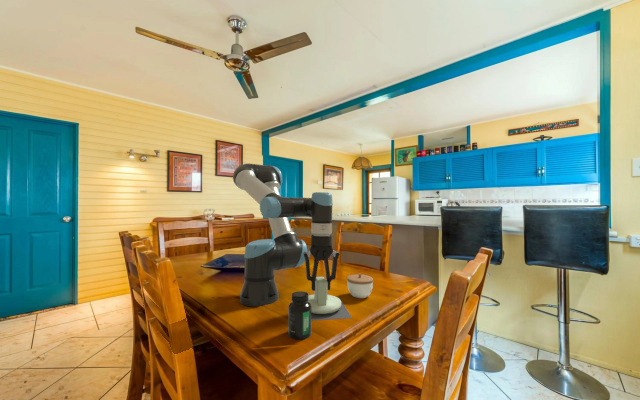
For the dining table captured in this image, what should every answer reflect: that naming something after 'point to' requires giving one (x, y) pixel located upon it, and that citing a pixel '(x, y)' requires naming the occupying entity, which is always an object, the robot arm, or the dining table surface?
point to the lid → (323, 299)
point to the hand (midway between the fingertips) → (320, 298)
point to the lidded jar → (360, 285)
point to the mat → (333, 314)
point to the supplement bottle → (299, 316)
